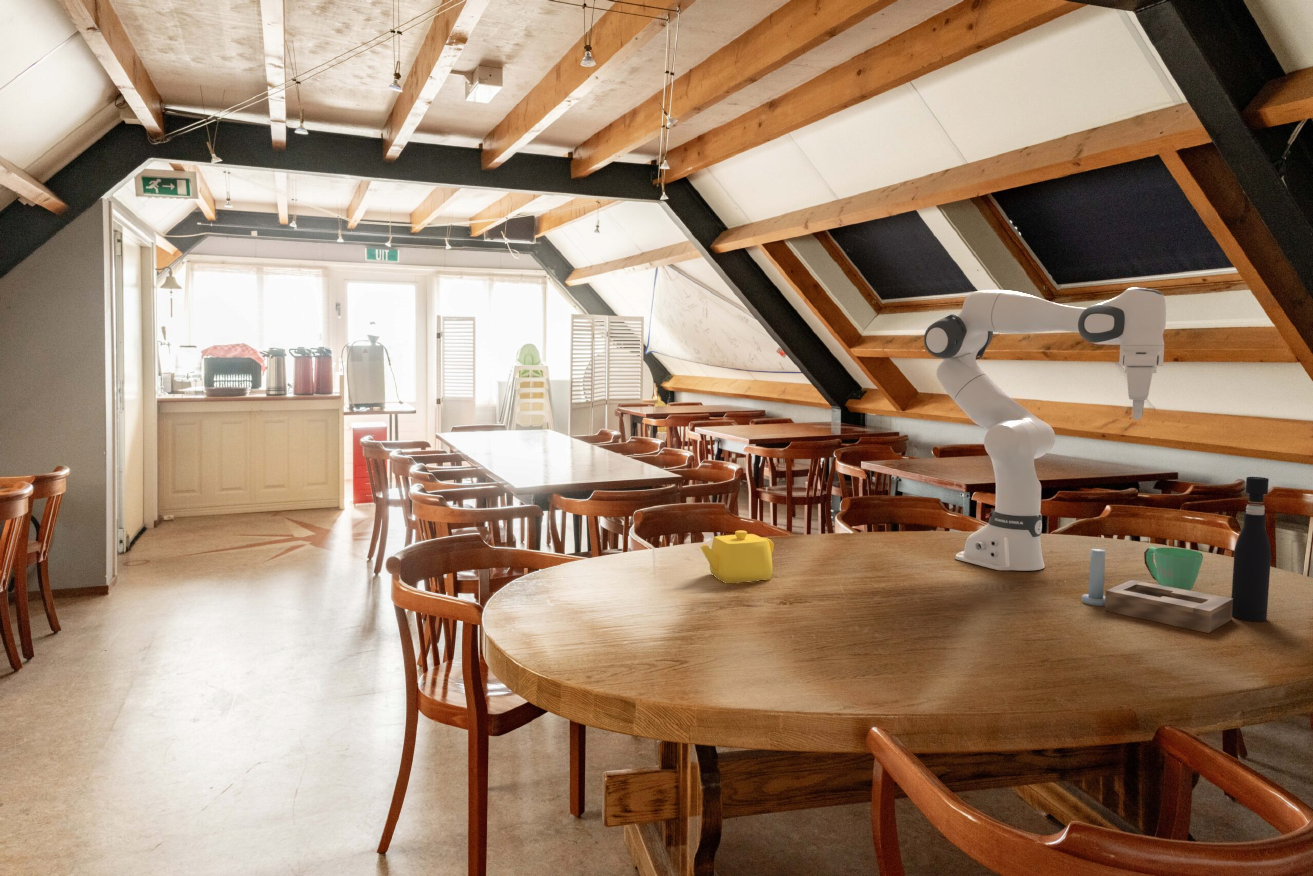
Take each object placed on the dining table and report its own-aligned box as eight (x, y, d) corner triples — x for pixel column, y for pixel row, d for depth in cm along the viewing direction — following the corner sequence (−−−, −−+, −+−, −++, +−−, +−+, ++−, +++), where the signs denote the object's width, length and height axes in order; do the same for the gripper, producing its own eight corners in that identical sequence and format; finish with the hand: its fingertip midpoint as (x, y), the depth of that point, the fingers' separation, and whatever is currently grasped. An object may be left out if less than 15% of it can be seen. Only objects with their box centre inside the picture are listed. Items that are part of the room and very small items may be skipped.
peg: (1077, 602, 192) (1079, 550, 191) (1088, 597, 196) (1090, 546, 195) (1103, 607, 188) (1105, 554, 187) (1113, 603, 192) (1116, 550, 191)
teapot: (710, 587, 205) (710, 539, 204) (691, 574, 217) (691, 529, 216) (784, 580, 212) (784, 533, 211) (762, 568, 223) (762, 524, 222)
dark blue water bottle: (1256, 623, 177) (1265, 480, 174) (1223, 615, 182) (1232, 477, 180) (1273, 619, 180) (1282, 478, 177) (1240, 611, 185) (1249, 475, 183)
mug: (1211, 598, 195) (1214, 555, 194) (1174, 600, 193) (1177, 557, 192) (1162, 582, 210) (1164, 542, 209) (1127, 584, 208) (1129, 544, 207)
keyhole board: (1104, 610, 186) (1105, 590, 185) (1130, 599, 195) (1131, 579, 194) (1208, 633, 171) (1210, 611, 170) (1231, 619, 180) (1233, 598, 179)
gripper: (1127, 358, 206) (1124, 415, 207) (1124, 358, 189) (1120, 420, 190) (1157, 358, 203) (1153, 416, 204) (1156, 358, 185) (1153, 421, 187)
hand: (1137, 418), depth 197 cm, fingers open, 8 cm apart
